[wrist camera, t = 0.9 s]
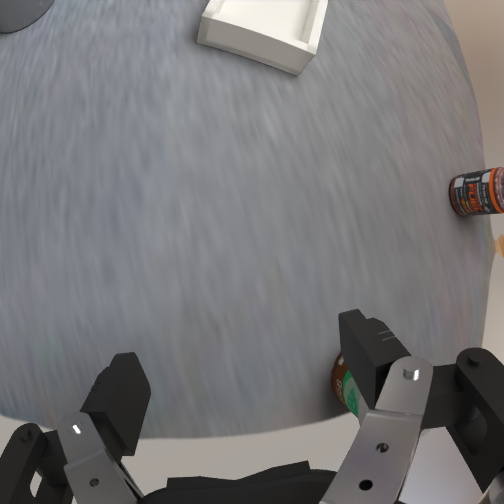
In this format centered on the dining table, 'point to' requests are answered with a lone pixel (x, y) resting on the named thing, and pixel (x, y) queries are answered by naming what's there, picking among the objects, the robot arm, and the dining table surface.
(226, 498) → the robot arm
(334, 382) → the food container
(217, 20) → the tray
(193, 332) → the dining table surface
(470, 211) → the supplement bottle
